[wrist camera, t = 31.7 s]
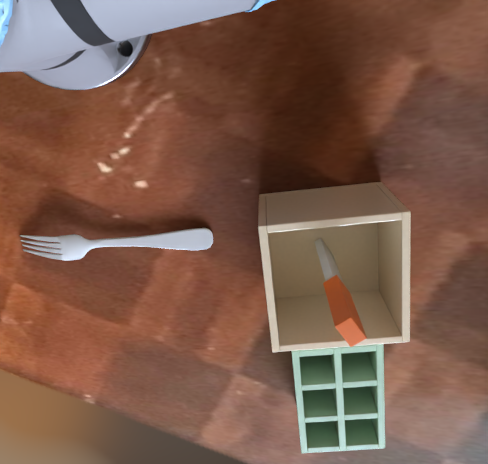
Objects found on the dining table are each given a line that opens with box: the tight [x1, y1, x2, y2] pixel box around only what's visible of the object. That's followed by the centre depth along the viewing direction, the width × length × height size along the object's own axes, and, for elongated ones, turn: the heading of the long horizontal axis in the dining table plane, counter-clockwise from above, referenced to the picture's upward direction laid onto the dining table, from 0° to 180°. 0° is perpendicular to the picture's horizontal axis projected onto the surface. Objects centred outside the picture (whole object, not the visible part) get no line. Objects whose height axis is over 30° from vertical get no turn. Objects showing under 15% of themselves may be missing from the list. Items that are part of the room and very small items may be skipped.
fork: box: [20, 228, 213, 260], centre depth 49 cm, size 3×21×3 cm, turn 92°
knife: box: [315, 238, 367, 347], centre depth 41 cm, size 1×2×16 cm, turn 37°
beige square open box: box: [258, 182, 411, 352], centre depth 44 cm, size 12×12×10 cm
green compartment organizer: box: [291, 344, 385, 453], centre depth 50 cm, size 9×13×7 cm
